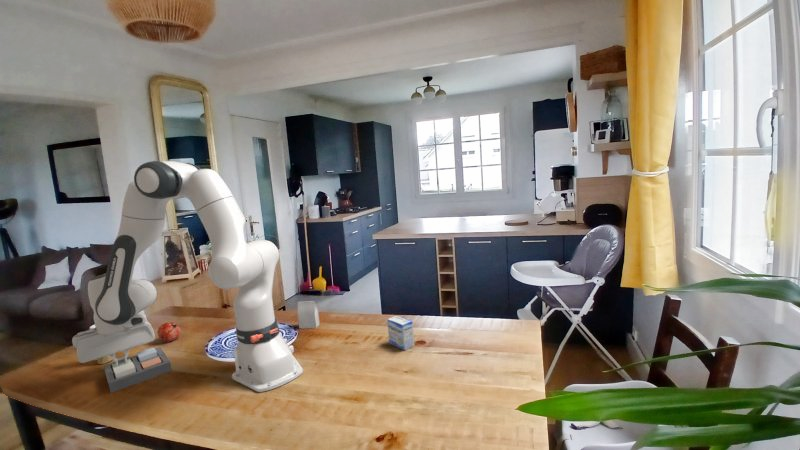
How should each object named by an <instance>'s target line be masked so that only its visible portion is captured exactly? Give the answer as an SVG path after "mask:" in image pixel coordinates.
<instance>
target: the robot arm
mask: <svg viewBox="0 0 800 450" xmlns="http://www.w3.org/2000/svg"><path fill="white" fill-rule="evenodd" d="M185 198H187V199H188V200H189V202H191V204H192V206H193V208H194V210H195V212H196V214H197V216H198V218H199V219H200V222H201V223H202V225H203V228H204V230H205V232H206V235H208V239H209V242H210V248H211V260H210V262H209V264H208V265H209V266H208V268H207V269H208V271H207V272H208V277H209V280H211V282H212V283H213V284H214V285H215V286H216V287H217V288H219V289H222V290H232V289H236V288H238V290H237V294H236V296H235V298H234V301H233V311H234V316H235V322H236V323H235V324H236V328H235V336H236V339H237V341H238V342H237V344H236V346H235V348H234V349H233V352H234V361H235V364H234V365H235V371H234V372H233V373H232V374H231V379H232V380H234V381H235V382H237V383H239V384H241V385H243V386H245V387H246V388H247V387H248V388H249V389H251V390H253V391H255V392H258V393H262V392H267V391H270V390H273V389H277V388H278V387H281V386H283V385H285V384H288V383H289V382H291V381H293V380H294V379H297V378H298V377H299V376H301V375H302V374H303V372H304V369H303V367H302V365H300V363H299V361H298V360H297V359H296V357H295V356H294V355H293V354H294V352H295V348H294V346H293V345H288V344H287V343H288V339H287V338H284V337H283V335H282V332H281V331H280V328H279V323H278V321H277V319H276V317H275V309H274V303H273V302H274V301H273V284H274V276H275V270H276V266H277V264H278V262H279V260H280V253H279V249H278V247H277V246H276V245H275V244H274V242H272V241H270V240H266V239H256V240H252V241H248V242H247V241H246V238H245V232H244V230H245V229H244V228H245V226H246V218H245V215H244V213H243V212H242V210H241V208H240V206H239V204H238V202H237V200H236V198H235V197H234V195H233V193H232V191H231V189H230V188H229V186H228V185H227V184H226V182H225V181H224V179H223V178H222V177H221V176H220V175H219V173H218V172H217V171H215V170H214V169H211V168H201V167H199V166H198V165H195V164H193V163H191V162H190V163H189V162H181V161H175V160H162V161H160V160H153V161H147V162H145V163H142V164H141V165H139V166H138V167H137V169H136V170H135V172H134V176H133V181H131V182H130V183H129V184H128V186H127V188H126V192H125V194H124V199H123V203H122V209H121V210H122V211H121V216H120V224H119V228H118V232H117V235H116V238H115V240H114V242H113V245H112V247H111V250H110V254H109V258H108V263H107V268H106V273H102V274H100V275H97V276H94V277H92V278H91V279H90V280H89V281H88V284H87V294H88V300H89V301H88V302H89V306H90V307H91V309H92V311H93V322H94V325H95V327H96V328H94V329H90V328H89V329H87V330H85V331H80V332H77V334H75V335H74V336H73V337H72V338H71V339H72V340H71V343H72V346H73V347H74V348H75V349H76V355H77V356H76V357H77V361H78V362H79V363H81V364H84V363H88V362H91V361H94V360H98V358H101V357H104V356H108V355H110V358H111V359H113V360H112V361H113V362H116V366H119V365H121V364H125V363H127V358H128V356H129V355H130V349H132V348H136V347H139V346H143V345H146V344H149V343H152V342H154V341H155V338H156V334H155V332H154V328H153V326H152V324H151V322H149V321H148V319H147V315H146V314H145V313H144V312H143V311H144V310H146V309H147V308H149V307H150V306H151V305H153V304H154V303H155V302H156V300H157V298H158V291H157V288H156V286H155V284H153V282H152V281H150V280H148V279H145V278H140V279H139V278H133V274H134V270H135V265H136V263H137V261H138V259H139V258H140V257H141V256H142V254H143V253H144V252H145V251H147V249H148V248H149V247H151V246H152V245H154V244H155V243H156V242H157V241H158V240H160V238H161V237H162V233H163V231H164V228H165V222H166V221H165V220H166V211H167V210H166V208H167V204H168V202H169V201H170V200H177V199H185ZM120 352H123V353H124V354H123V356H122V357H116V353H120Z"/></svg>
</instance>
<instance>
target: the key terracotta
mask: <svg viewBox="0 0 800 450" xmlns="http://www.w3.org/2000/svg"><path fill="white" fill-rule="evenodd" d="M160 363H162V361H161V360H160V358H159V357H157V358H154V359H151V360H148V361H145V362H142V363H141V366H142V370H143V369H146V368H149V367H152V366H154V365H157V364H160Z"/></svg>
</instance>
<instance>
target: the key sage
mask: <svg viewBox="0 0 800 450" xmlns="http://www.w3.org/2000/svg"><path fill="white" fill-rule="evenodd" d="M131 362H132V361H131V359H127V363H125V364H128V363H131ZM125 364H121V365H119V366H122V365H125ZM119 366H116V363H115V364H112V368H116V367H119ZM113 371H114V369H113Z"/></svg>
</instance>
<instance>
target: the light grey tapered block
mask: <svg viewBox="0 0 800 450" xmlns="http://www.w3.org/2000/svg"><path fill="white" fill-rule="evenodd" d="M296 313H297V320H298V329H301V330H302V329H317V328H318V327H319V326H320V315H319V308H318V307H317V303H316V301H315V300H310V301H309V300H307V301H297V312H296Z"/></svg>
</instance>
